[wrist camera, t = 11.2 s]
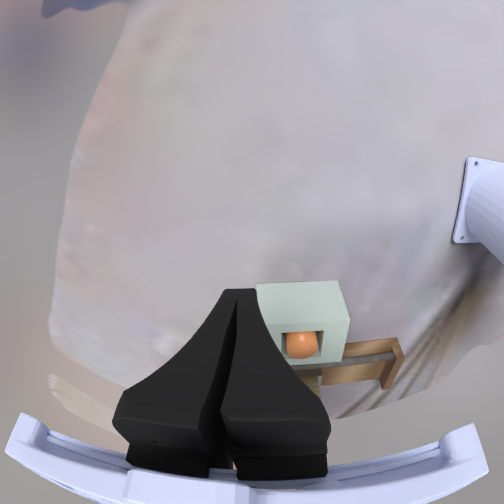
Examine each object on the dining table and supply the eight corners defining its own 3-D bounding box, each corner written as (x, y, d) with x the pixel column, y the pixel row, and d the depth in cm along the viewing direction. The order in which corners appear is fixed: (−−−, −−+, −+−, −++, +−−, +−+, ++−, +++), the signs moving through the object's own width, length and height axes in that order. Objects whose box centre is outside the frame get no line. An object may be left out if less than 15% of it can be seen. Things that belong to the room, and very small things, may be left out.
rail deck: (396, 337, 28) (404, 357, 25) (383, 369, 31) (389, 388, 28) (261, 348, 29) (260, 371, 26) (263, 380, 32) (263, 400, 29)
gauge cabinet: (337, 280, 24) (350, 319, 20) (331, 323, 27) (340, 363, 23) (256, 283, 25) (254, 325, 20) (259, 327, 27) (258, 367, 23)
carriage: (321, 368, 28) (327, 410, 24) (317, 385, 30) (322, 425, 25) (278, 370, 29) (279, 414, 24) (278, 388, 30) (278, 428, 26)
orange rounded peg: (314, 311, 23) (319, 338, 20) (312, 331, 24) (316, 358, 22) (285, 313, 23) (286, 340, 21) (284, 333, 24) (286, 359, 22)
